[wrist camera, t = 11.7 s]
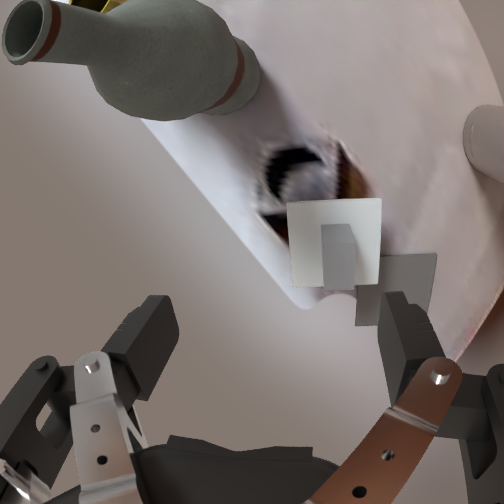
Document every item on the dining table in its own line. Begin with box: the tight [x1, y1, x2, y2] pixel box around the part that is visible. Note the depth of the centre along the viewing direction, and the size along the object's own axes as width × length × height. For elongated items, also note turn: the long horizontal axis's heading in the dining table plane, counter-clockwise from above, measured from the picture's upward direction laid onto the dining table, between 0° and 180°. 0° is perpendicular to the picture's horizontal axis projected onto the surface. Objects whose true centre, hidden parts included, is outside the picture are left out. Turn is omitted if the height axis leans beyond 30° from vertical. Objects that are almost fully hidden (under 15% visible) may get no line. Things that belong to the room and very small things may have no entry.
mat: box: [355, 253, 437, 326], centre depth 41 cm, size 11×11×1 cm
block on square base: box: [286, 198, 381, 291], centre depth 32 cm, size 10×10×6 cm
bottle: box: [2, 0, 260, 121], centre depth 20 cm, size 9×9×30 cm
